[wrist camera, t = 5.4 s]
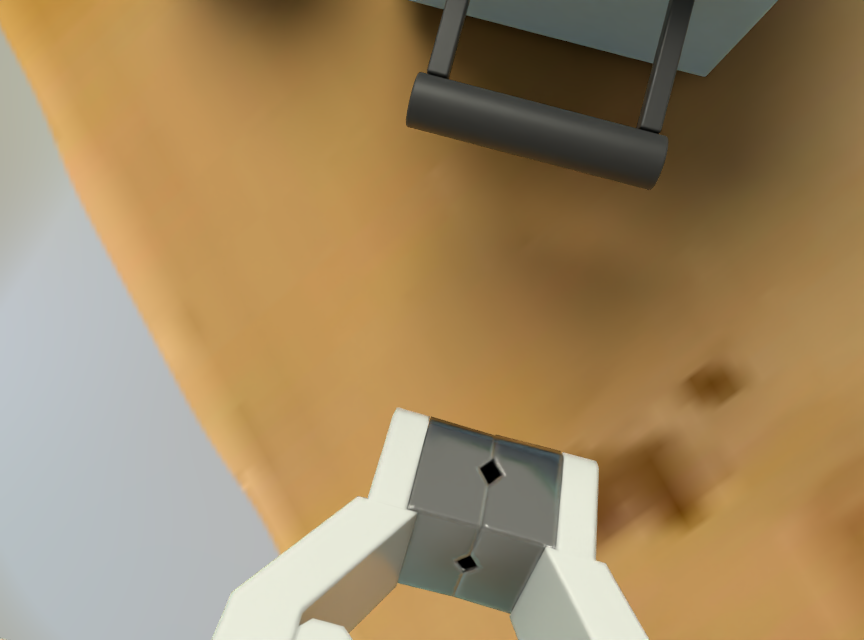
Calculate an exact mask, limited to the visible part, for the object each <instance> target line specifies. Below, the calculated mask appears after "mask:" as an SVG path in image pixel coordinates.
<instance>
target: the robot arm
mask: <svg viewBox="0 0 864 640" xmlns="http://www.w3.org/2000/svg"><path fill="white" fill-rule="evenodd" d="M429 419H430V421H429ZM428 424H429V425H428ZM598 478H599V467H598V464H597V462H596V461H594V460H590V459H586V458H582V457H579V456H575V455H571V454H567V453H564V452H563V453H561V451H558V450H554V449H551V448H547V447H543V446H539V445H535V444H531V443H527V442H523V441H519V440H515V439H511V438H507V437H503V436H500V435H492V434H488V433H485V432H482V431H478V430H475V429H471V428H468V427H465V426H461V425H458V424H454V423H451V422H448V421H444V420H441V419H438V418H434V417H431V418H430V416H426V415H423V414H419V413H416V412H412V411H409V410H405V409H402V408H398V407H397V408H396V410H395V412H394V415H393V417H392V420H391V423H390V427H389V430H388V433H387V437H386V440H385V443H384V446H383V450H382V453H381V456H380V460H379V463H378V466H377V469H376V473H375V476H374V479H373V482H372V486H371V489H370V492H369V496H368V498H364V497H359V496H357V497H356V498H355V499H353V500H352V501H351V502H349V503H348V504H347V505H345V506H344V507H343V508H341V509H340V510H339V511H338V512H336V513H335V514H334V515H332V516H331V517H330V518H328V519H327V520H326V521H324V522H323V523H322V524H320V525H319V526H318V527H317V528H315V529H314V530H313V531H311V532H310V533H309V534H307V535H306V536H305V537H303V538H302V539H301V540H299V541H298V542H297V543H296V544H294V545H293V546H292V547H290V548H289V549H288V550H286V551H285V552H284V553H282V554H281V555H280V556H278V557H277V558H276V559H275V560H273V561H272V562H271V563H269V564H268V565H267V566H266V567H264V568H263V569H261V570H260V571H259V572H257V573H256V574H255V575H254V576H252V577H251V578H250V579H248V580H247V581H246V582H245V583H243V584H242V585H240V586H239V587H238V588H237V589H236V590H234V591H233V592H232V593H231V595H230V597H229V599H228V602H227V604H226V607H225V609H224V611H223V614H222V616H221V618H220V621H219V623H218V625H217V628H216V630H215V632H214V635H213V637H212V640H352V638H351V636H350V635H349V633H350V632H351V631H352V630H353V629H354V628H355V627H356V626H357V625H358V624H359V623H360V622H361V621H362V620H363V619H364V618H365V617H366V616H367V615H368V614H369V613H370V612H371V611H372V610H373V609H374V608H375V607H376V606H377V605H378V604H379V603H380V602H381V601H382V600H383V599H384V598H385V597H386V596H387V595H388V594H389V593H390V592H391V591H392V590H393V589H394V588H395V587H396V585H397V583H400V584H404V585H409V586H413V587H417V588H421V589H425V590H429V591H433V592H437V593H441V594H445V595H449V596H453V597H457V598H460V599H463V600H467V601H470V602H473V603H477V604H480V605H483V606H487V607H490V608H493V609H497V610H500V611H503V612H506V613H510V619H511V622H512V624H513V627H514V630H515V632H516V635H517V638H518V640H649V638H648V636H647V635H646V633H645V631H644V629H643V628H642V626H641V624H640V622H639V621H638V619H637V617H636V615H635V614H634V612H633V610H632V608H631V607H630V605H629V603H628V601H627V600H626V598H625V596H624V594H623V593H622V591H621V589H620V587H619V586H618V584H617V582H616V580H615V579H614V577H613V575H612V573H611V572H610V570H609V568H608V566H607V565H606V563H603V562H599V561H596V536H597V507H598ZM0 640H7V639H3V638H0Z"/></svg>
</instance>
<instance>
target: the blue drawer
mask: <svg viewBox="0 0 864 640" xmlns="http://www.w3.org/2000/svg"><path fill="white" fill-rule="evenodd" d="M410 1H413V2H417V3H421V4H425V5H429V6H433V7H437V8H440V9H444V10H443V14H442V17H441V21H440V25H439V28H438V32H437V36H436V39H435V43H434V47H433V50H432V54H431V58H430V61H429V65H428V69H427V74H426V73H422V72H419V73H418V75H417V77H416V79H415V82H414V85H413V88H412V92H411V96H410V100H409V105H408V110H407V116H406V125H407V126H408V127H411V128H415V129H418V130H422V131H426V132H430V133H434V134H437V135H441V136H445V137H449V138H453V139H456V140H460V141H464V142H468V143H472V144H475V145H479V146H483V147H487V148H491V149H495V150H498V151H502V152H506V153H510V154H514V155H517V156H521V157H525V158H529V159H533V160H536V161H540V162H544V163H548V164H552V165H556V166H559V167H563V168H567V169H571V170H575V171H578V172H582V173H586V174H590V175H594V176H597V177H601V178H605V179H609V180H613V181H617V182H620V183H624V184H628V185H632V186H636V187H639V188H643V189H647V190H651V189H652V188H653V187H654V186H655V184H656V182H657V181H658V178H659V176H660V174H661V171H662V169H663V166H664V163H665V159H666V155H667V151H668V137H666V136H664V135H660V134H659V133H660V132H661V130H662V126H663V122H664V119H665V115H666V111H667V107H668V103H669V99H670V95H671V91H672V87H673V84H674V80H675V76H676V72H677V70H680V71H683V72H687V73H691V74H695V75H699V76H703V77H706V76H707V75H708V74H709V73H710V72H711V71H712V70H713V68H714V67H715V66H716V65H717V64H718V63H719V62H720V61H721V60H722V59H723V58H724V57H725V56H726V55H727V54H728V53H729V52H730V51H731V49H732V48H733V47H734V46H735V45H736V44H737V43H738V42H739V41H740V40H741V39H742V38H743V37H744V36H745V35H746V34H747V33H748V32H749V30H750V29H751V28H752V27H753V26H754V25H755V24H756V23H757V22H758V21H759V20H760V19H761V18H762V17H763V16H764V15H765V14H766V13H767V12H768V10H769V9H770V8H771V7H772V6H773V5H774V4H775V3H776V2H777V1H778V0H410ZM466 15H467V16H471V17H475V18H479V19H483V20H487V21H491V22H494V23H498V24H502V25H506V26H510V27H514V28H518V29H521V30H525V31H529V32H533V33H537V34H541V35H545V36H548V37H552V38H556V39H560V40H564V41H568V42H572V43H575V44H579V45H583V46H587V47H591V48H595V49H599V50H602V51H606V52H610V53H614V54H618V55H622V56H626V57H629V58H633V59H637V60H641V61H645V62H649V63H653V65H652V69H651V73H650V77H649V81H648V85H647V89H646V93H645V96H644V100H643V104H642V108H641V112H640V116H639V120H638V123H637V127H636V128H633V127H629V126H625V125H622V124H618V123H614V122H610V121H606V120H602V119H599V118H595V117H591V116H587V115H583V114H579V113H576V112H572V111H568V110H564V109H560V108H556V107H553V106H549V105H545V104H541V103H537V102H533V101H530V100H526V99H522V98H518V97H514V96H510V95H507V94H503V93H499V92H495V91H491V90H487V89H484V88H480V87H476V86H472V85H468V84H465V83H461V82H457V81H453V80H449V76H450V73H451V69H452V65H453V61H454V58H455V54H456V50H457V47H458V43H459V39H460V36H461V32H462V28H463V25H464V21H465V17H466Z"/></svg>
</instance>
